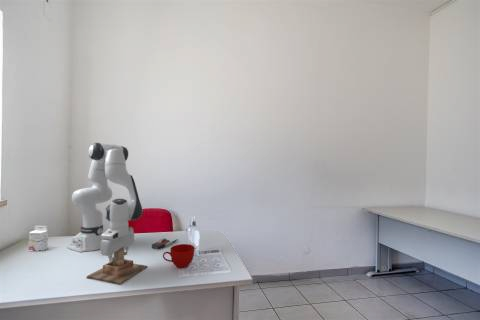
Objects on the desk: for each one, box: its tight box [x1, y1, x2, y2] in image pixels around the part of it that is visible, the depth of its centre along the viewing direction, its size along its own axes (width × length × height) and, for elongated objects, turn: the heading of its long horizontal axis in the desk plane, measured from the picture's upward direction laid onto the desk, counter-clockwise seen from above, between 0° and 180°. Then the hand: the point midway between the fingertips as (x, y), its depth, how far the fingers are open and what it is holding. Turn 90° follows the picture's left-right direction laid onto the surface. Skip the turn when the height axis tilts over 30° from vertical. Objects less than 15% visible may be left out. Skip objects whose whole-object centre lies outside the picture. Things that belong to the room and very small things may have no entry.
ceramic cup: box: [162, 243, 196, 269], centre depth 143 cm, size 13×17×10 cm
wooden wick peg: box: [112, 247, 125, 267], centre depth 135 cm, size 4×4×12 cm
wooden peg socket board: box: [86, 258, 148, 286], centre depth 135 cm, size 20×20×5 cm
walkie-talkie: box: [151, 237, 178, 250], centre depth 178 cm, size 9×4×20 cm
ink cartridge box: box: [28, 225, 49, 251], centre depth 163 cm, size 9×5×15 cm, turn 92°
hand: (118, 257), depth 135 cm, fingers open, 8 cm apart
